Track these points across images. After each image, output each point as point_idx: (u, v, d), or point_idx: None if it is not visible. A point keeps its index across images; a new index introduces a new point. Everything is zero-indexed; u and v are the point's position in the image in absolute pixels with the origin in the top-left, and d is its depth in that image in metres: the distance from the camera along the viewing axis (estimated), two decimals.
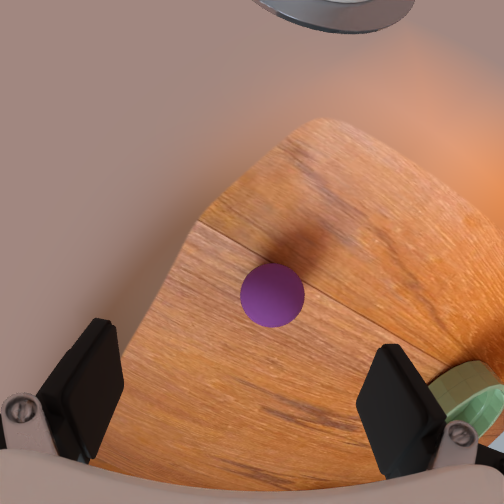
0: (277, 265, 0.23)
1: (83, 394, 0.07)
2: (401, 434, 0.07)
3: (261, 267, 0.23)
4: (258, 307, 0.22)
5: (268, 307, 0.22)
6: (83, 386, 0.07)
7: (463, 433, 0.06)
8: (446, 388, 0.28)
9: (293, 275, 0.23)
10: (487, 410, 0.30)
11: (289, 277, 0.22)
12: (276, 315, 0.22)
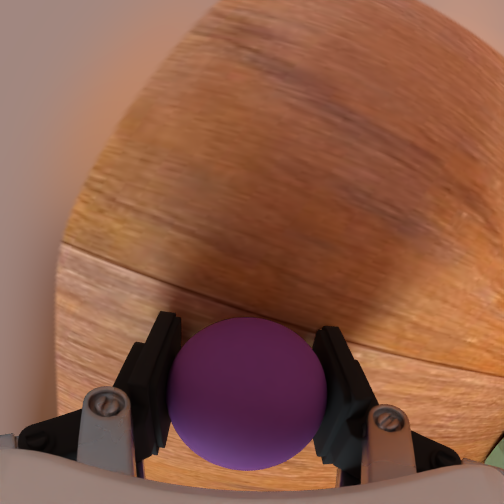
0: (240, 329, 0.08)
1: (163, 383, 0.08)
2: (330, 414, 0.08)
3: (199, 339, 0.08)
4: (202, 449, 0.07)
5: (226, 453, 0.07)
6: (164, 375, 0.08)
7: (390, 416, 0.07)
8: None
9: (289, 353, 0.08)
10: None
11: (275, 366, 0.07)
12: (253, 463, 0.07)
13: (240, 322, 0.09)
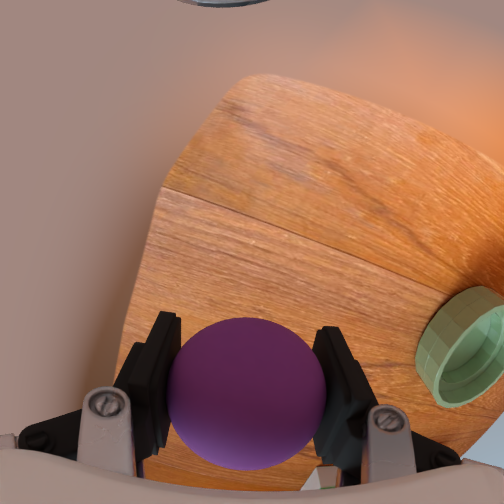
0: (239, 329, 0.08)
1: (163, 383, 0.08)
2: (330, 414, 0.08)
3: (198, 340, 0.08)
4: (201, 449, 0.07)
5: (225, 452, 0.07)
6: (164, 375, 0.08)
7: (390, 416, 0.07)
8: (450, 317, 0.29)
9: (288, 353, 0.08)
10: None
11: (273, 367, 0.07)
12: (253, 463, 0.07)
13: (239, 322, 0.09)
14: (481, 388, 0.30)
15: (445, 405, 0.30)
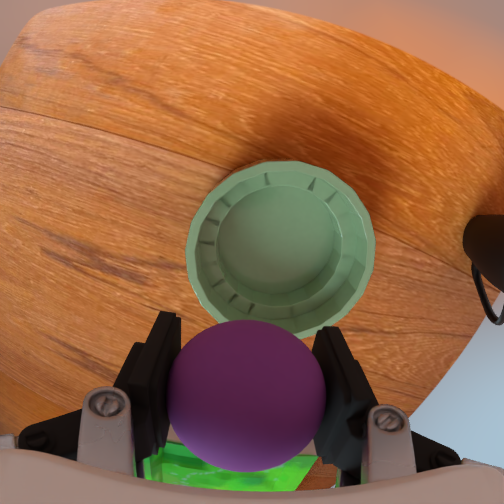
0: (239, 331, 0.08)
1: (163, 383, 0.08)
2: (330, 414, 0.08)
3: (198, 342, 0.08)
4: (201, 452, 0.07)
5: (225, 455, 0.07)
6: (164, 375, 0.08)
7: (390, 416, 0.07)
8: None
9: (288, 356, 0.08)
10: (357, 247, 0.27)
11: (273, 369, 0.07)
12: (252, 465, 0.07)
13: (239, 325, 0.09)
14: (318, 321, 0.27)
15: None
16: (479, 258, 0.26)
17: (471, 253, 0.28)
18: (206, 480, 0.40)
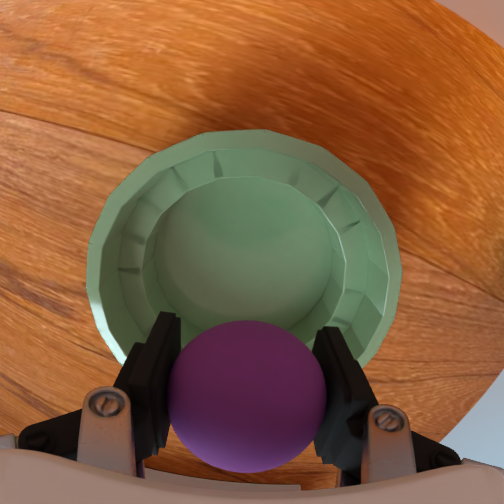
0: (240, 332, 0.08)
1: (163, 383, 0.08)
2: (330, 414, 0.08)
3: (198, 343, 0.08)
4: (202, 452, 0.07)
5: (226, 455, 0.07)
6: (164, 375, 0.08)
7: (390, 416, 0.07)
8: None
9: (288, 356, 0.08)
10: (369, 278, 0.16)
11: (274, 370, 0.07)
12: (253, 466, 0.07)
13: (240, 325, 0.09)
14: None
15: None
16: None
17: None
18: None
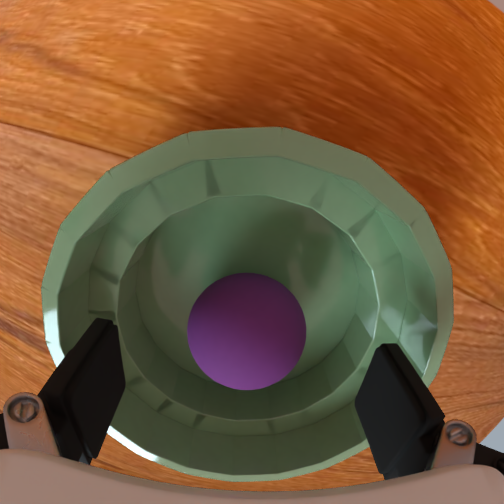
0: (242, 277, 0.12)
1: (85, 393, 0.07)
2: (399, 433, 0.07)
3: (213, 285, 0.12)
4: (214, 365, 0.11)
5: (232, 364, 0.10)
6: (85, 385, 0.07)
7: (461, 432, 0.06)
8: None
9: (276, 292, 0.11)
10: (407, 324, 0.12)
11: (266, 299, 0.11)
12: (251, 376, 0.11)
13: (242, 274, 0.12)
14: (320, 454, 0.12)
15: (174, 467, 0.12)
16: None
17: None
18: None
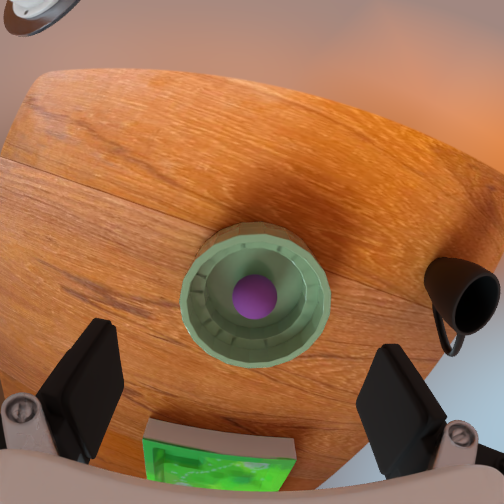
0: (253, 275, 0.33)
1: (83, 394, 0.07)
2: (401, 434, 0.07)
3: (242, 279, 0.33)
4: (243, 306, 0.32)
5: (249, 305, 0.32)
6: (83, 386, 0.07)
7: (463, 433, 0.06)
8: (200, 250, 0.33)
9: (265, 281, 0.33)
10: (318, 294, 0.33)
11: (261, 283, 0.32)
12: (256, 310, 0.32)
13: (253, 274, 0.34)
14: (286, 353, 0.34)
15: (223, 359, 0.33)
16: (434, 299, 0.33)
17: (429, 293, 0.35)
18: (201, 478, 0.46)
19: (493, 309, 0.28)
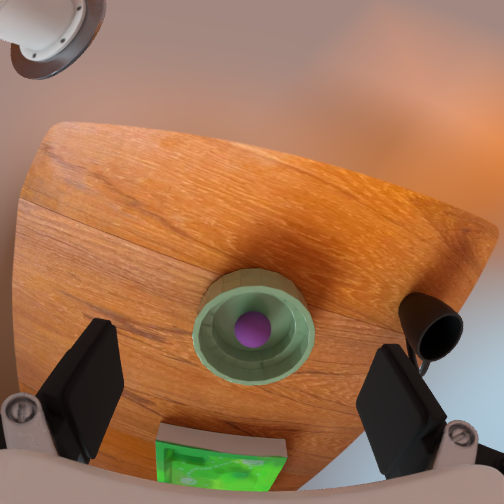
0: (251, 313, 0.40)
1: (83, 394, 0.07)
2: (401, 434, 0.07)
3: (243, 316, 0.40)
4: (244, 339, 0.39)
5: (249, 338, 0.39)
6: (83, 386, 0.07)
7: (463, 433, 0.06)
8: (208, 292, 0.39)
9: (261, 318, 0.40)
10: (305, 328, 0.40)
11: (258, 320, 0.39)
12: (254, 342, 0.39)
13: (251, 312, 0.41)
14: (278, 373, 0.41)
15: (227, 379, 0.40)
16: (404, 330, 0.40)
17: (401, 323, 0.42)
18: (205, 474, 0.53)
19: (456, 340, 0.36)
